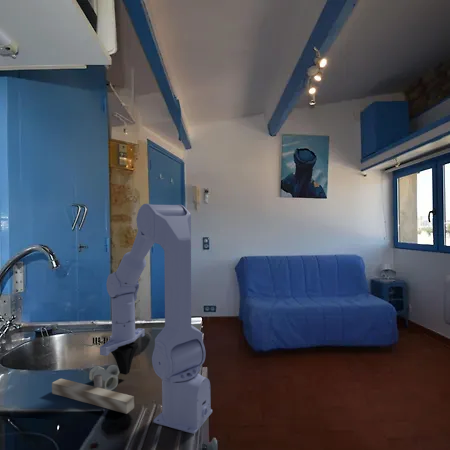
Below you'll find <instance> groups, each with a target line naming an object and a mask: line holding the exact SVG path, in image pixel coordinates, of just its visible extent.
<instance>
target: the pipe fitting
mask: <svg viewBox="0 0 450 450" xmlns="http://www.w3.org/2000/svg"><path fill="white" fill-rule="evenodd" d="M95 375H102V389H106V390H110V391H114V390H115V389H116V388H117V387H118V384H119V375H120V372H119V368H118V365H117V364H110V365H108V367H107V368H104V367H102V366H99V365H95V366H94V367H92V368H91V369H90V370H89V377H88V378H89V380H90V381H92V382H94V376H95Z"/></svg>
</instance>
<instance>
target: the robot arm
mask: <svg viewBox="0 0 450 450" xmlns="http://www.w3.org/2000/svg"><path fill="white" fill-rule="evenodd" d="M135 218H136V227H137V232H136V233H137V234H136V236H135V238H134V241H133V244H132V246H131V250H130V251H128V252H126V253H124V254H123V257H122V259H121V261H120V263H119V265H118V267H117V269H116V271H113V272H112V273H109V274H108V276H107V279H106V292H107V294H108V296H109V297H110V299H111V301H110V304H111V312H110V313H111V335H110V336H109V340H107V341H106V342H105V343H103V344H102V345H101V346H99V356H105V357H107V356H109V355H110V353H111V354H112V356H113V358H114V360H115V362H116V365H117V366H118V368H119V375H120V374H121V375H128V374H129V373H130V371H131V367H132V363H133V358H134V356H135V353H136V351H137V349H138V347H139V343H138V342H135V341H136V340H138V339H139V338H143V337H145V335H146V334H145V333H146V332H145V328H141V327H138V328H136V304H135V303H136V301H137V299H138V295H137V294H138V292H139V290H140V283H139V279H140V277H141V275H142V273H143V272H144V270H145V267H146V265H147V260H146V256H147V255H148V254H149V252H150V251H151V248H152V247H153V245H154V244H158V245H160V247H161V248H162V249H163V251H164V256H163V257H164V327H163V328H162V330H161V331H160V332H159V333H158V334H157V336H156V337H155V338H154V348H153V352H152V354H151V364H152V368H153V371H154V372H155V375H157V377H159V378H160V379H161V399H162V401H161V403H162V407H161V408H162V412H160V413H159V414H158V415H157V416H156V417H155V418H154V419H153V423H154V424H157V425H160V426H161V425H162V426H164V427H169V428H172V429H174V430H179V431H182V432H186V433H190V434H196V433H197V432H198V431H199V429H201V427H202V426H203V425H204V423H205V422H206V421H207V419H208V418H209V417H210V416H211V414H212V413H213V409H212V407H211V399H212V398H211V395H212V394H211V382H210V379H209V378H207V377H205V376H203V375H202V374H200V373H199V372H200V371H201V366H202V365H203V364H204V363H205V360H206V352H207V351H206V348H205V344H204V340H203V332H202V331H201V330H200V329H198V328H197V327H195V326H194V325H193V324H192V241H191V240H192V213H190V211H189V210H188V209H187V208H186V207H185V206H184V204H183V205H182V204H151V203H143V204H142V205H141V206H140V207H139V209H138V212H137V215H136V217H135Z"/></svg>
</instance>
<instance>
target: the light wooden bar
mask: <svg viewBox="0 0 450 450" xmlns="http://www.w3.org/2000/svg"><path fill="white" fill-rule="evenodd" d="M51 394H52V395H57V396H61V397H63V398H68V399H71V400H75V401H78V402H82V403H86V404H89V405H94V406H97V407H100V408H104V409H108V410H111V411H115V412H118V413H122V414H125V415H127V414H129V413H130V412H131V411H133V409H135V396H134V395H129V394H127V393H122V392H117V391H114V390H111V391H110V390H106V389H103V388H102V375H95V376H94V381H93V385H89V384H86V383H81V382H78V381H77V382H76V381H74V380H69V379H64V378H61V377H60V378H59V379H57V380H55V381H53V382H51Z"/></svg>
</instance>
